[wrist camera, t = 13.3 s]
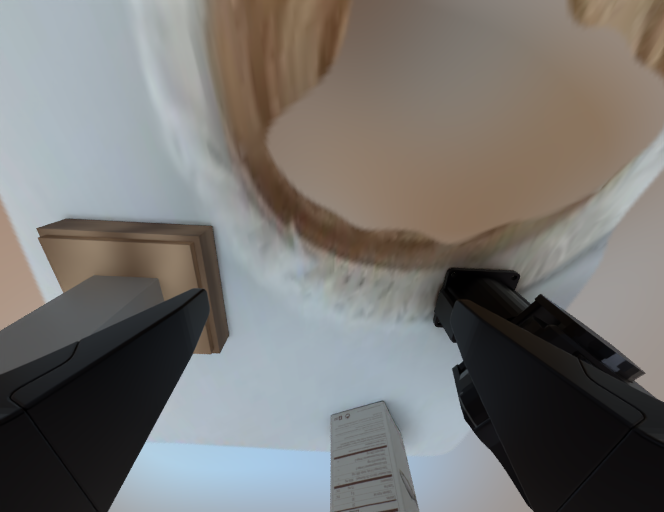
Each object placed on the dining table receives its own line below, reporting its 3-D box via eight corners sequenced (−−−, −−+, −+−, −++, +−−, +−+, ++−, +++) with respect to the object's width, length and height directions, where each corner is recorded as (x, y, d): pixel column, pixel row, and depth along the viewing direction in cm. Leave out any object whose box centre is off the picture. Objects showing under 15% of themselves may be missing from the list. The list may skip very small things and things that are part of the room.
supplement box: (402, 432, 34) (437, 582, 23) (350, 445, 35) (359, 594, 24) (385, 398, 31) (416, 551, 20) (328, 413, 32) (327, 566, 21)
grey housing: (158, 278, 20) (-40, 442, 10) (171, 327, 22) (22, 507, 12) (93, 275, 20) (-181, 438, 9) (113, 325, 22) (-92, 505, 12)
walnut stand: (212, 226, 22) (195, 239, 19) (228, 335, 27) (217, 358, 24) (66, 218, 21) (27, 231, 19) (111, 330, 26) (86, 353, 24)
